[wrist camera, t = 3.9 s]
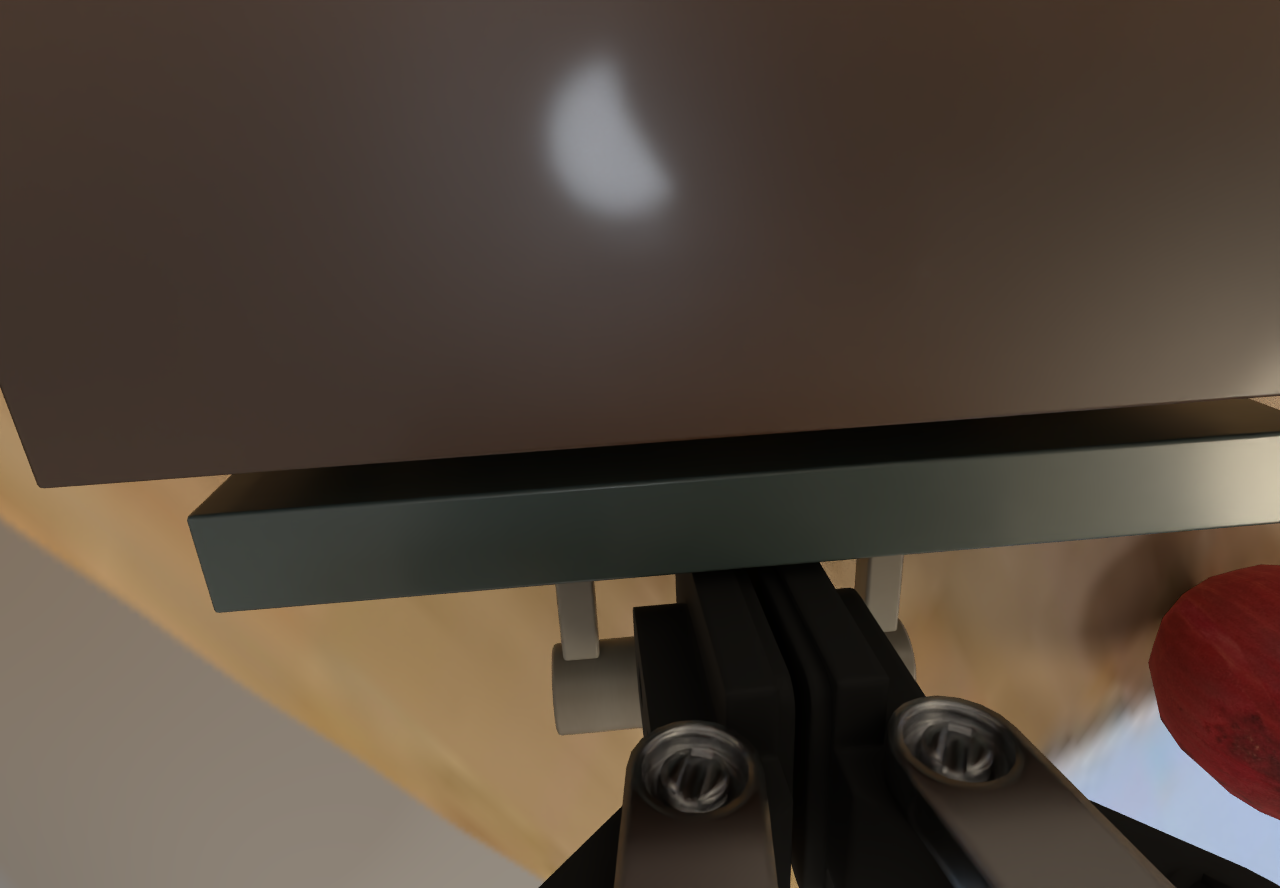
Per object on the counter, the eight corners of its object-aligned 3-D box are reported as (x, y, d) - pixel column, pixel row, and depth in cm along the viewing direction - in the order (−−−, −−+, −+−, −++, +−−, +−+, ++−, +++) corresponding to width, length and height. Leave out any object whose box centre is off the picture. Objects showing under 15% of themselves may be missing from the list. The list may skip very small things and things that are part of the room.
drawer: (944, 536, 19) (1211, 820, 11) (424, 579, 18) (305, 916, 10) (1073, -602, 11) (2158, -2233, 4) (210, -602, 11) (-781, -2629, 3)
